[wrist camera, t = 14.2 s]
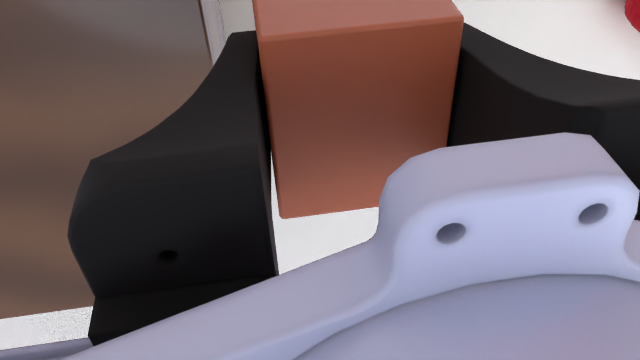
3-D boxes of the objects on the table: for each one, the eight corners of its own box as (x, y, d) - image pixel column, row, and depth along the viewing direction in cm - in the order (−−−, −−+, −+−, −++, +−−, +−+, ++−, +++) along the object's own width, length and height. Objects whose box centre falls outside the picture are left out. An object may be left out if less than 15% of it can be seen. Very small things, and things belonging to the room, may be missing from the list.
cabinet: (-207, -135, 18) (-401, -52, 12) (190, -166, 19) (181, -103, 13) (-9, 197, 28) (-67, 329, 22) (247, 166, 29) (255, 284, 23)
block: (266, 113, 16) (280, 221, 13) (246, -50, 13) (257, 38, 10) (395, 98, 17) (441, 199, 13) (404, -64, 13) (466, 16, 10)
